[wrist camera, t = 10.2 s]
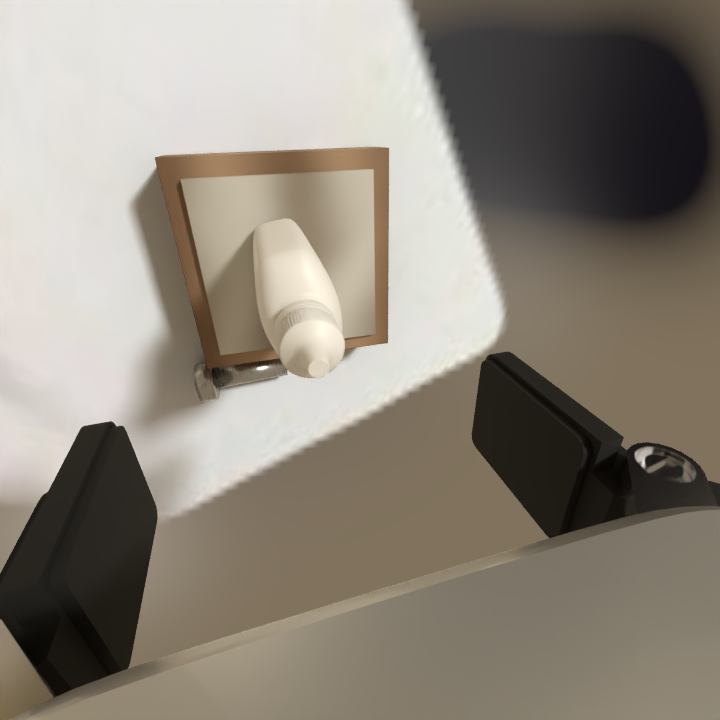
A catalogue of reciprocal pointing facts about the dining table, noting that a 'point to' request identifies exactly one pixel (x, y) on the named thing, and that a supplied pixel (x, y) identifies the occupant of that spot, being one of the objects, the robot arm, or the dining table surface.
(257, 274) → the eye dropper bottle
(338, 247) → the picture frame
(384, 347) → the dining table surface
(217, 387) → the loose bolt
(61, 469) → the robot arm
